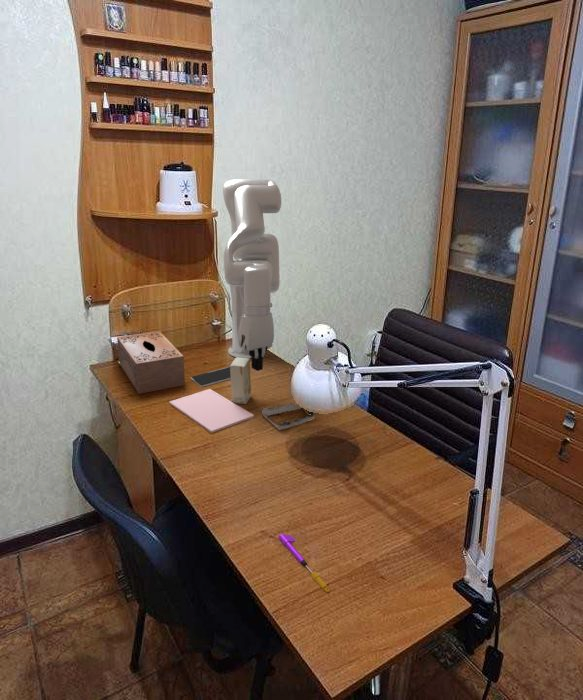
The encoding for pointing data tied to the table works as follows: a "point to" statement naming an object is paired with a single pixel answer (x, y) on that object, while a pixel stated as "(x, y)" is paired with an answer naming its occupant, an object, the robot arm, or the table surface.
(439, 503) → the table surface
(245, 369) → the skincare box
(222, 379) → the smartphone
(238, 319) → the robot arm
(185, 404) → the nail mat
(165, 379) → the tissue box cover
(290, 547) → the purple and yellow tool
